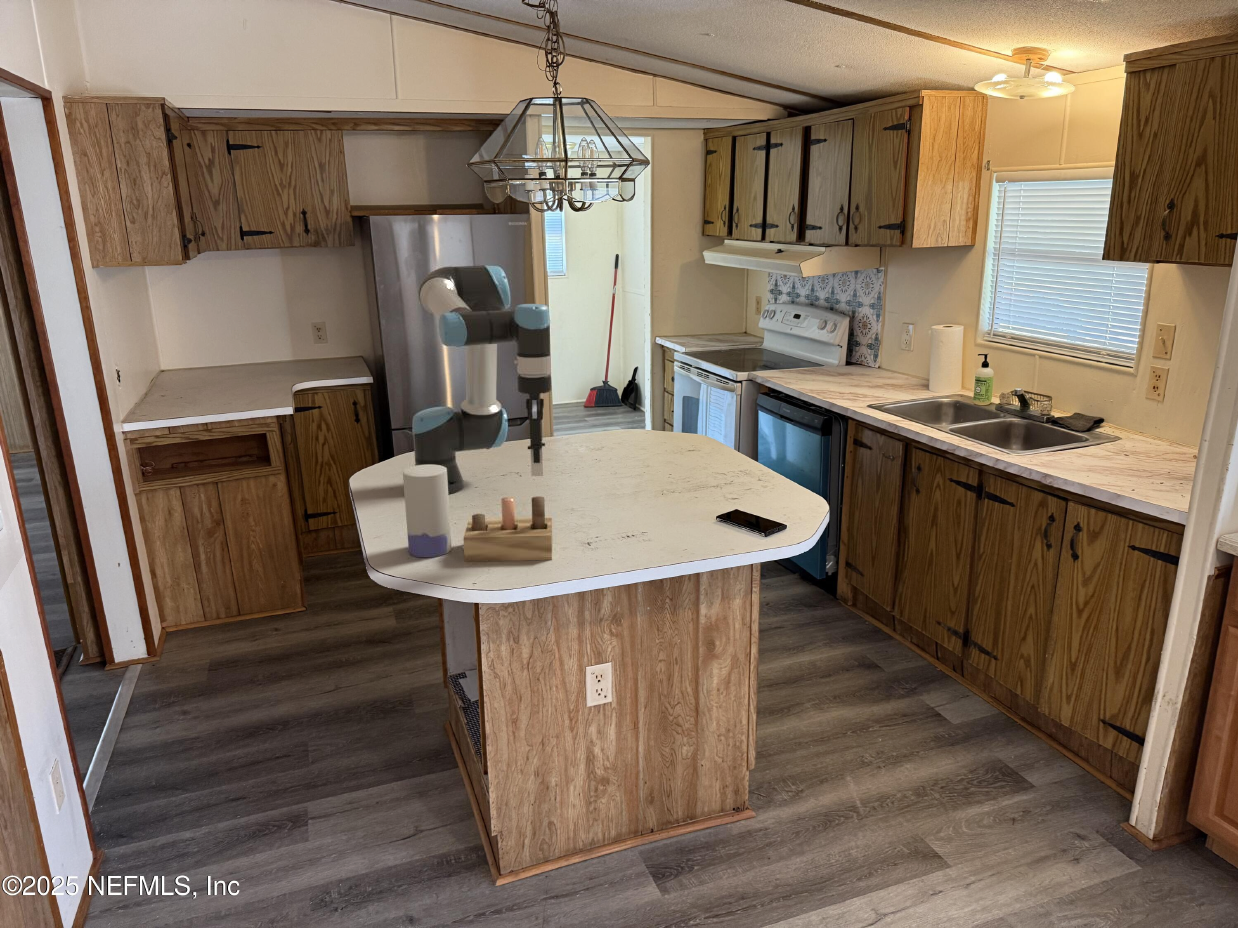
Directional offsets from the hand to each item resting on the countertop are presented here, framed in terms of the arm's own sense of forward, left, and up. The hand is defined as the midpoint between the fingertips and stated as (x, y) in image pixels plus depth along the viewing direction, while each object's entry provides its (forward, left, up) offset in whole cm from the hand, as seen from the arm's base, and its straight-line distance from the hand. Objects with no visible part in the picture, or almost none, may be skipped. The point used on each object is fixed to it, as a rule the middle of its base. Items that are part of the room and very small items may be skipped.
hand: (537, 474), depth 200 cm
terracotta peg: (0, -7, -14) cm, 15 cm away
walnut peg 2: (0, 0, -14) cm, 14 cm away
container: (-2, -26, -19) cm, 32 cm away
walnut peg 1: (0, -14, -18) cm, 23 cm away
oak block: (0, -7, -19) cm, 20 cm away
